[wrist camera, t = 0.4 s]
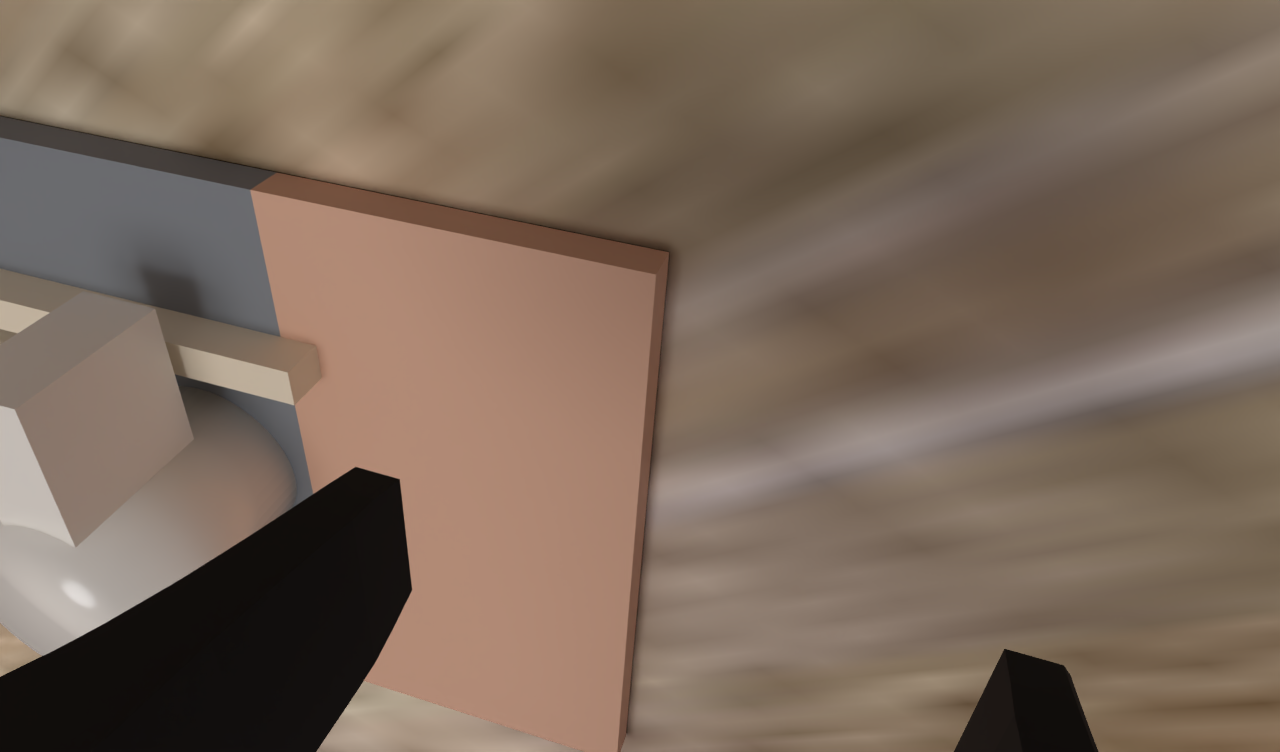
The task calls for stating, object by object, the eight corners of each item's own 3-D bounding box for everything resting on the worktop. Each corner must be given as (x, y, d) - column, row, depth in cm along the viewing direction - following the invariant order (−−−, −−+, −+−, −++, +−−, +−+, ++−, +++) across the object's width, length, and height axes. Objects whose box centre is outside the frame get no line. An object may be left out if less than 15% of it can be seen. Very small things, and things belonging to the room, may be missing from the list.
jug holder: (625, 735, 30) (604, 796, 29) (136, 580, 34) (91, 626, 33) (669, 252, 20) (638, 304, 18) (-52, 105, 24) (-134, 136, 22)
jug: (314, 564, 28) (182, 732, 24) (175, 523, 29) (21, 676, 25) (253, 288, 23) (61, 439, 18) (82, 248, 24) (-142, 381, 19)
